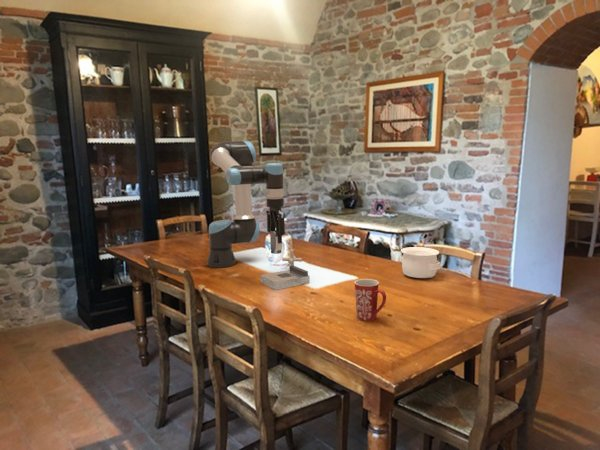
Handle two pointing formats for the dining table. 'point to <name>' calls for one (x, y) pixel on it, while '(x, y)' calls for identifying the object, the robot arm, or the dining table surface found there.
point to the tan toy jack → (292, 258)
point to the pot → (419, 262)
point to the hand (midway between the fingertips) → (276, 248)
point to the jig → (286, 278)
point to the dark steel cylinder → (274, 242)
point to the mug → (367, 299)
